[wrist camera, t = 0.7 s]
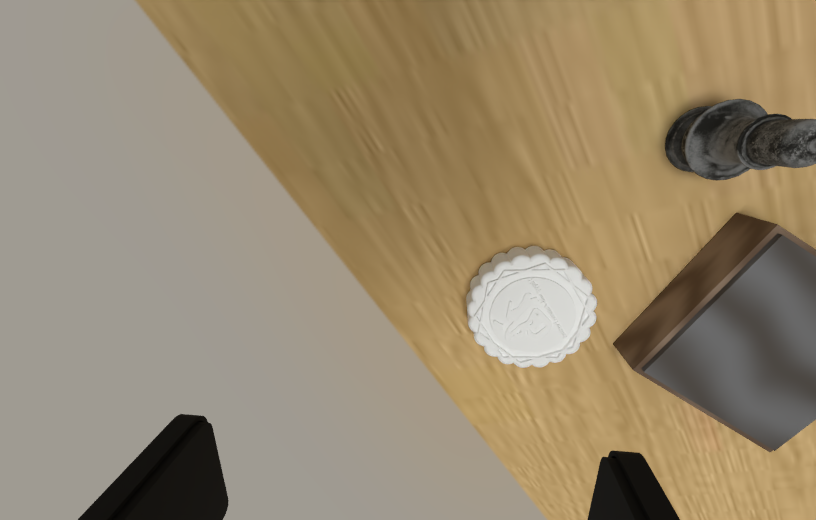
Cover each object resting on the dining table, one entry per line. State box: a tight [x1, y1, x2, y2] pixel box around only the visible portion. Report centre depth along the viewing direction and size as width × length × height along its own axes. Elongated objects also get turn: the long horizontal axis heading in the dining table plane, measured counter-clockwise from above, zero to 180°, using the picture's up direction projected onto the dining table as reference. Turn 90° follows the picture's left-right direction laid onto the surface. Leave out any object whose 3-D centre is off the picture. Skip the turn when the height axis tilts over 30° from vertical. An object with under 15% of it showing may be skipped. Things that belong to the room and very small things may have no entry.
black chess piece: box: [665, 99, 816, 180], centre depth 26 cm, size 6×6×12 cm
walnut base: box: [613, 213, 816, 452], centre depth 34 cm, size 16×16×5 cm
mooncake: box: [466, 246, 597, 368], centre depth 37 cm, size 12×12×4 cm
